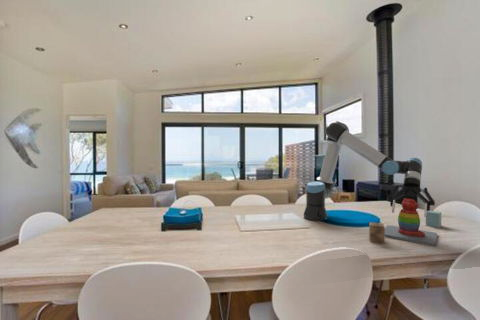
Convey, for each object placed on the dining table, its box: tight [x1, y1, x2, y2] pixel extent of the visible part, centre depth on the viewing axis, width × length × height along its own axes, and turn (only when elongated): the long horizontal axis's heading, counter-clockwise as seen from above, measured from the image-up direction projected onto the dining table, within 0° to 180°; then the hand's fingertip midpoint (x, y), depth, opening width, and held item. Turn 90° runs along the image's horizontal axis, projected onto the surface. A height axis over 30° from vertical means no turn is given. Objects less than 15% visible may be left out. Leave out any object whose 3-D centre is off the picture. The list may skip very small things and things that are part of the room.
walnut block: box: [368, 221, 386, 245], centre depth 117 cm, size 6×6×8 cm
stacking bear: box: [397, 197, 425, 237], centre depth 124 cm, size 11×10×18 cm
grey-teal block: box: [425, 210, 442, 228], centre depth 142 cm, size 6×6×8 cm
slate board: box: [385, 224, 438, 247], centre depth 125 cm, size 22×20×1 cm
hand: (408, 213), depth 123 cm, fingers open, 13 cm apart
